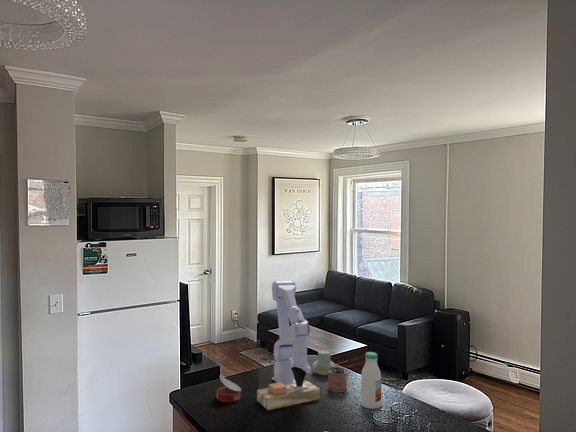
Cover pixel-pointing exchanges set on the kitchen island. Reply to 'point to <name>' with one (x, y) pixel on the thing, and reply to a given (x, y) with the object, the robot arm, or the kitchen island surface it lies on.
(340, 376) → the lighter
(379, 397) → the milk bottle
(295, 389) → the grey button
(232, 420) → the kitchen island surface
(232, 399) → the canned food
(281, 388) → the terracotta button
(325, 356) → the pale green jug
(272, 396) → the button panel
